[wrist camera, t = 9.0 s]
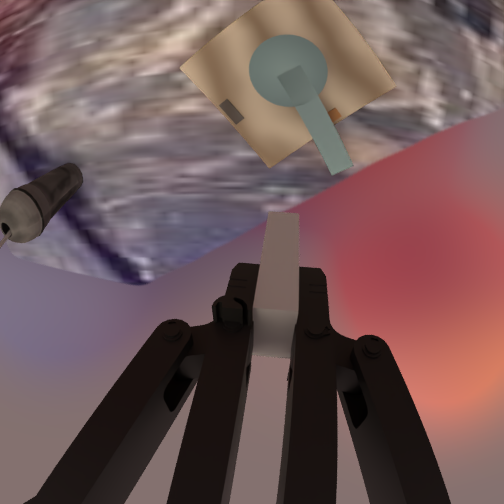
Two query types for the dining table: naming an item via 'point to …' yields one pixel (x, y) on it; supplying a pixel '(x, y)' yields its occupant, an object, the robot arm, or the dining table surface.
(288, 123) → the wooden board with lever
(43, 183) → the beverage cup
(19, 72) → the dining table surface
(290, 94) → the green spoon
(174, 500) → the robot arm
